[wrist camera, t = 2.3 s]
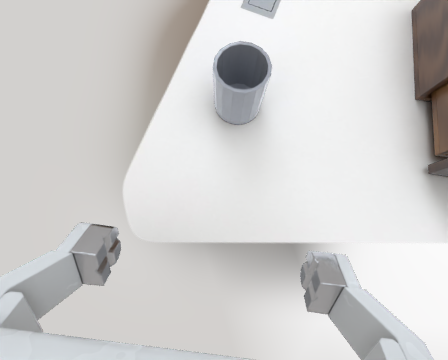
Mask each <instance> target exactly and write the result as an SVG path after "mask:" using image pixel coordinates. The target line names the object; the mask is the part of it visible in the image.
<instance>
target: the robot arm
mask: <svg viewBox="0 0 448 360" xmlns="http://www.w3.org/2000/svg"><path fill="white" fill-rule="evenodd" d="M118 234H119V232H118V228H116V227H111V226H105V225H98V224H90V223H83V222H81V223H79V224H77V225H76V227H75V228H74V229H73V230H72V231H71V233H70V234H69V235H68V236H67V237H66V239H65V240H64V241H63V242H62V243H61V245H60V246H59V247H58V248H57V250H56V251H50V252H48V253H46V254H44V255H42V256H40V257H38V258H36V259H34V260H32V261H30V262H28V263H26V264H24V265H22V266H20V267H18V268H17V269H14V270H13V271H11V272H9V273H7V274H5V275H3V276H1V277H0V360H254V359H246V358H238V357H231V356H223V355H214V354H207V353H199V352H191V351H183V350H176V349H175V350H174V349H168V348H160V347H152V346H144V345H135V344H128V343H120V342H112V341H104V340H96V339H88V338H81V337H73V336H64V335H57V334H49V333H43V329H42V328H41V326H40V324H39V322H38V319H39V318H41V317H42V316H43V315H45V314H46V313H47V312H49V311H50V310H51V309H53V308H54V307H55V306H56V305H58V304H59V303H60V302H62V301H63V300H64V299H65V298H67V297H68V296H69V295H71V294H72V293H73V292H74V291H75V290H77V289H78V288H79V287H81V286H82V284H89V285H99V286H100V285H101V286H104V284H105V282H106V280H107V278H108V276H109V275H110V273H111V270H110V267H111V266H112V265H114V264H115V263H116V262H117V260H118V258H119V254H120V251H121V244H120V241H119V240H118V239H117V236H118ZM306 260H307V262H305V263H303V265H302V268H301V275H300V277H301V284H302V287H303V288H304V289H305V290H306V292H305V295H304V299H305V303H306V307H307V311H308V312H315V313H321V314H328V316H329V317H330V319H331V320H332V322H333V323H334V324H335V326H336V327H337V328H338V330H339V331H340V332H341V333H342V335H343V336H344V338H345V339H346V340H347V342H348V343H349V344H350V346H351V347H352V348H353V350H354V351H355V352H356V354H357V355H358V356H359V358H360V359H361V360H434V359H433V358H432V356H431V354H430V352H429V350H428V349H427V347H426V345H425V343H424V342H423V341H422V340H421V339H420V338H419V337H417V336H416V335H415V334H414V333H413V332H412V331H411V330H410V329H409V328H408V327H407V326H405V325H404V324H403V323H402V322H401V321H400V320H399V319H398V318H397V317H396V316H394V315H393V314H392V313H391V312H390V311H389V310H388V309H387V308H386V307H384V306H383V305H382V304H381V303H380V302H379V301H378V300H377V299H375V298H374V297H373V296H372V295H371V294H370V293H369V292H368V291H367V290H365V289H362V288H361V286H360V284H359V281H358V279H357V277H356V275H355V272H354V270H353V268H352V266H351V263H350V261H349V259H348V257H347V256H346V255H343V254H335V253H333V254H332V253H326V252H317V251H308V253H307V255H306Z"/></svg>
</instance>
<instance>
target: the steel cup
mask: <svg viewBox="0 0 448 360" xmlns="http://www.w3.org/2000/svg"><path fill="white" fill-rule="evenodd" d="M271 68H272V64H271V62H270V59H269V56H268V55H267V53H266V52H265V51H264V50H263V49H262V48H261V47H259V46H257V45H255V44H253V43H250V42H242V41H239V42H235V43H230V44H228V45H226V46H225V47H223V48H222V49H220V51H219V52H218V54H217V55H216V57H215V58H214V64H213V82H214V104H215V109H216V112H217V113H218V115H219V116H220V117H221V118H222V119H223V120H224V121H226V122H228V123H231V124H237V125H239V124H245V123H248V122H250V121H251V120H253V119H254V118H255V117H256V115H257V114H258V112H259V110H260V107H261V104H262V101H263V98H264V95H265V92H266V89H267V85H268V82H269V79H270V76H271Z"/></svg>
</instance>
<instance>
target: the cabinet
mask: <svg viewBox="0 0 448 360" xmlns="http://www.w3.org/2000/svg"><path fill="white" fill-rule="evenodd" d="M412 27H413V52H414V76H415V99H416V100H423V101H431V102H432V96H431V93H432V92H433V91H435V90H436V89H438V88H439V87H441V86H442V85H444V84H445V83H447V82H448V0H421V1H420V2H419V3H418V4H417V5H416V6H415V7H414V9H413V10H412Z"/></svg>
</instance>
